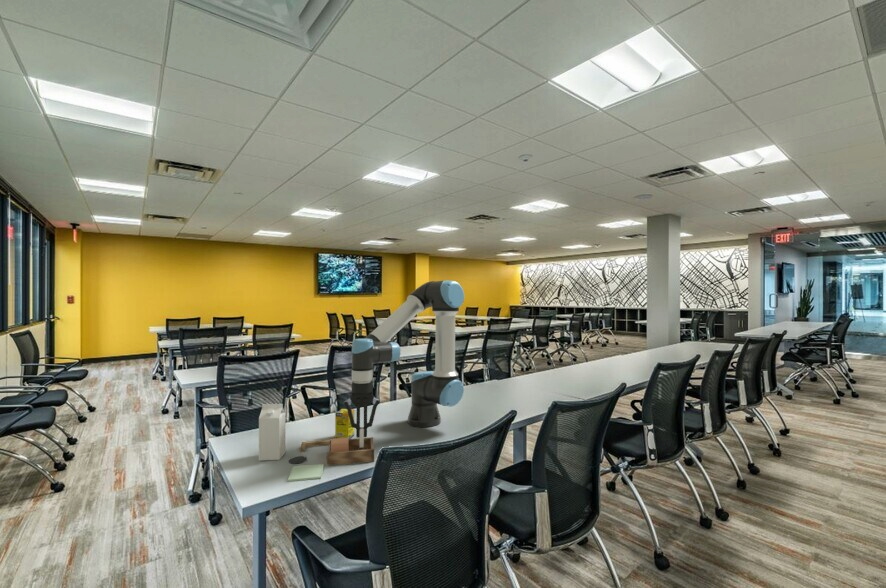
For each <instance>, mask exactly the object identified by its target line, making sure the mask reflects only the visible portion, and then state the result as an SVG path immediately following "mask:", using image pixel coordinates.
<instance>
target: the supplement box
mask: <svg viewBox="0 0 886 588" xmlns="http://www.w3.org/2000/svg"><path fill="white" fill-rule="evenodd" d="M351 410H352V414H353V418H354V419H355V409H352V408H351ZM334 416H335V420H334V421H335V423H334V425H335V426H334V427H335V435H334V436H335V438H346V437H349V439H352V438H353V437H354V436H355V428H352V427H351V423H350V419H349V415H348V410H347V408H341V409H339V410H338V411H336V412H335V413H334Z"/></svg>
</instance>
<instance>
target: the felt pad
mask: <svg viewBox="0 0 886 588" xmlns="http://www.w3.org/2000/svg"><path fill="white" fill-rule="evenodd" d="M324 467H325V464H324V463H319V464H307V465H306V464H305V465H296V466H295V465H294V466H292V469H291V471H290V473H289V476H288V479H287V482H295V481H296V482H298V481H306V480H307V481H308V480H310V481H311V480H317V479H318V480H320V479H322V476H323V471H324Z"/></svg>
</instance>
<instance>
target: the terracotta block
mask: <svg viewBox="0 0 886 588" xmlns="http://www.w3.org/2000/svg"><path fill="white" fill-rule="evenodd" d="M330 440H331V452H341V451H349V437H346V438H334V437H333V438H331V439H330Z"/></svg>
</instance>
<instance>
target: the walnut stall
mask: <svg viewBox="0 0 886 588" xmlns="http://www.w3.org/2000/svg"><path fill="white" fill-rule="evenodd" d="M329 440H330V445H329V452H326V466H335V465H336V466H337V465H346V464H358V463H370V462H371V463H372V462H374V461H375V448H374V447H375V444H374V437H373V436H371V437H364V447H361V448H359V446H360V438H357V437H356V438H350V439H349V451H341V452H331V440H332V439H329Z"/></svg>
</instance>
